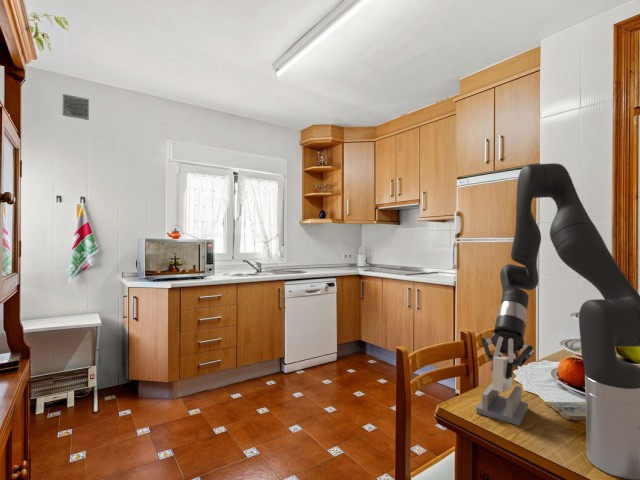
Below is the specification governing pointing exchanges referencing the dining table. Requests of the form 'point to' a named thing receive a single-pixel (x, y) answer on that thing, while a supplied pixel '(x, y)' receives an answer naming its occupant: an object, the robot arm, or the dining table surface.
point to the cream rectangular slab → (500, 374)
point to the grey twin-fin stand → (503, 406)
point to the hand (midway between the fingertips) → (501, 376)
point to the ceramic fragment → (569, 409)
